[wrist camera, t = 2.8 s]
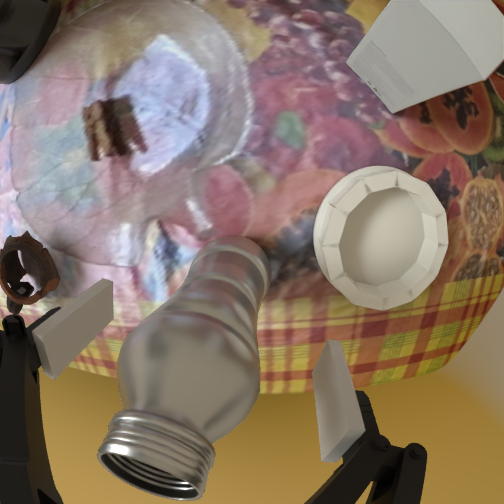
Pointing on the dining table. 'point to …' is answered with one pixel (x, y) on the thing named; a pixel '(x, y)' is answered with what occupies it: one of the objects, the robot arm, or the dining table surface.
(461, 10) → the small box
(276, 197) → the dining table surface
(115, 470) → the plastic bottle
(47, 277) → the broken clay pot
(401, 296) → the bowl
